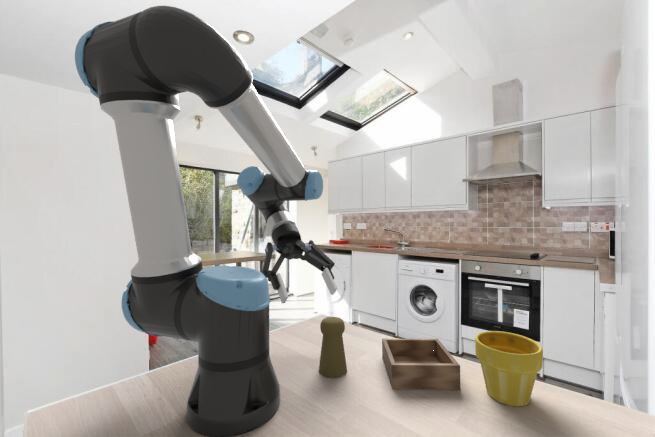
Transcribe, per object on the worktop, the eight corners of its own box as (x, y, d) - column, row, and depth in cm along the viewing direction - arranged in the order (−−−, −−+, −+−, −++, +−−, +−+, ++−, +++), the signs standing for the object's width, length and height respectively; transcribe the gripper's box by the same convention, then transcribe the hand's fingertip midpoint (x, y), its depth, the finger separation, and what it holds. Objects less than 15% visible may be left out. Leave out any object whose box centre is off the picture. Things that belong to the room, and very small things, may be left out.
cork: (326, 361, 68) (325, 312, 68) (351, 367, 65) (351, 316, 65) (313, 374, 62) (313, 320, 62) (340, 380, 60) (339, 324, 60)
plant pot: (542, 423, 47) (541, 359, 47) (470, 399, 53) (469, 343, 53) (544, 392, 55) (543, 338, 55) (481, 375, 61) (481, 326, 61)
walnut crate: (392, 389, 56) (391, 364, 56) (382, 358, 69) (382, 338, 69) (460, 389, 56) (460, 365, 56) (438, 358, 68) (437, 338, 69)
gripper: (316, 238, 94) (346, 296, 81) (236, 242, 80) (257, 313, 68) (326, 221, 89) (358, 280, 77) (242, 222, 76) (265, 294, 63)
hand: (311, 295), depth 72 cm, fingers open, 13 cm apart
